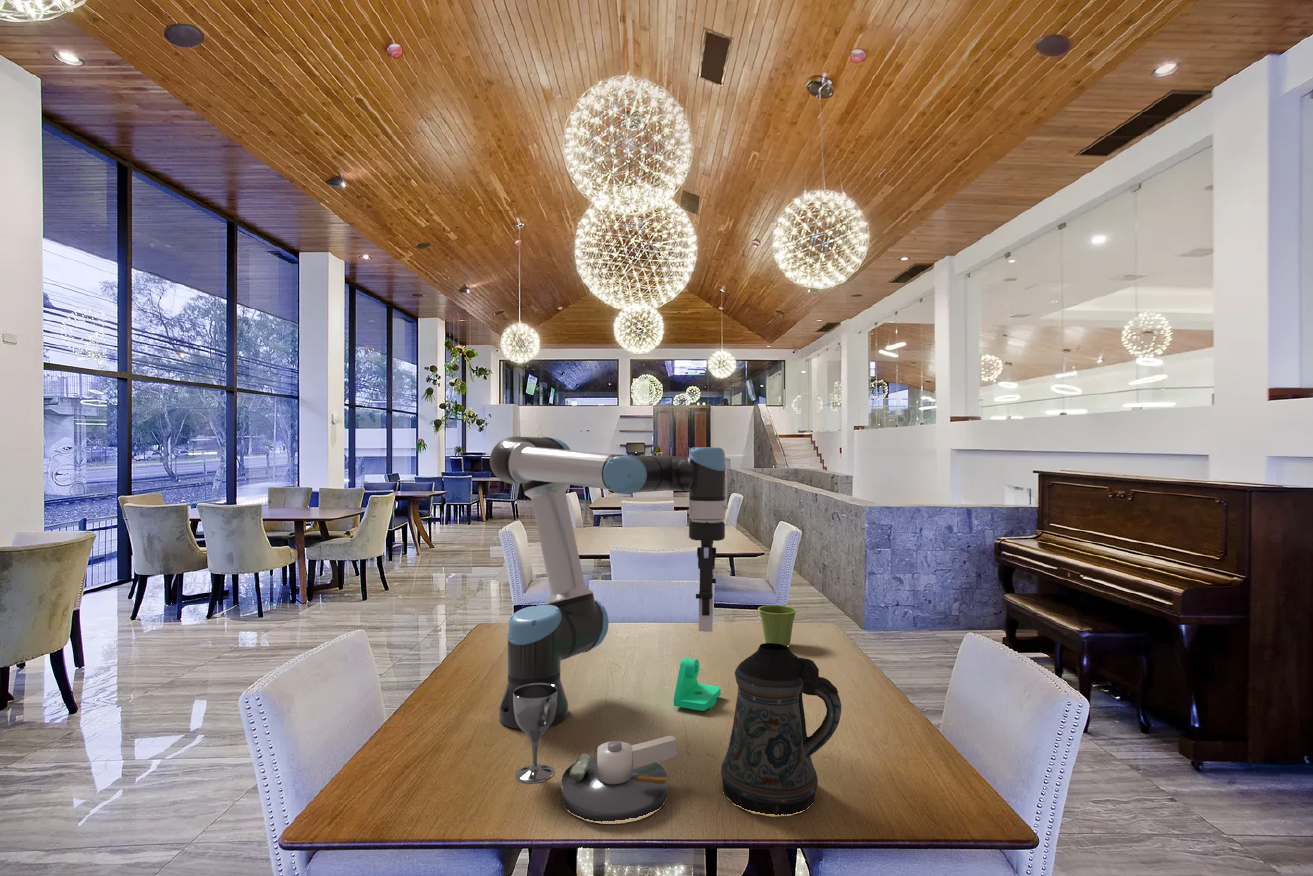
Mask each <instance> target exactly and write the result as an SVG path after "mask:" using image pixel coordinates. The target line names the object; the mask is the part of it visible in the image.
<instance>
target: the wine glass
mask: <svg viewBox="0 0 1313 876" xmlns="http://www.w3.org/2000/svg"><path fill="white" fill-rule="evenodd" d="M513 706H514V714H515V718H516V722H517V724H518V726H519V727H520V728H521V729H520V730H521V731H522V732H523V733H524V734H525V735H526V736H527V737H528V739H529V741H530V744H531V750H532V751H531V752H532V764H533V765H532V764H528V765H524V766H522V767H520V768H519V769H518V770H516V771H515V773H514V778H515V777H516V778H515V779H516V780H517V781H518V782H520V783H524V784H539V783H538V782H540V781H543V780H546V781H548V780H547V778H549V777H550V775H552V774H553V773H554V774H555V769H554V768H553V767H552V766H550V765H548V764H545V765H541V764H542V763H538V752H539V751H538V750H539V743H540V740H541V738H542V736H543V735H544V734H545V733H546V731H547V730H548V729H549V728H550V727H551V726H550V725H551V723H552V722H553V720H554V717H555V712H556V706H557V687H556V686H554V685H552V684H547V683H531V684H525V685H522V686H519V687H517V688H516V689H515V690H514V692H513ZM549 726H550V727H549ZM547 765H548V766H547ZM540 783H541V782H540Z"/></svg>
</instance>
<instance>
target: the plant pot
mask: <svg viewBox="0 0 1313 876" xmlns="http://www.w3.org/2000/svg"><path fill="white" fill-rule="evenodd" d="M757 610H758V611H759V615H760V619H761V623H762V629H763V630H762V631H763V635H764V641H765V642H766V643H775V644H781V645H784V646H788V645H789V644H790V645H791V639H792V633H793V632H792V631H793V625H794V620H795V616H796V613H797V612H798V610H797V608H795V607H792V606H787V605H776V604H775V605H771V604H770V605H762V606H759V607H758V608H757ZM765 642H764V643H765Z"/></svg>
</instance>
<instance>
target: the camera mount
mask: <svg viewBox="0 0 1313 876" xmlns="http://www.w3.org/2000/svg"><path fill="white" fill-rule="evenodd" d="M699 672H700V662H699V660H698V659H697V658H689V657H683V658H682V659H681V661H680V664H679V669H678V675H677V680H676V684H675V688H674V689H675V690H674V695H673V707H678V708H684V709H689V710H695V711H700V712H701V711H702V712H703V711H704V712H705V711H706V710H712V708H713V707H714V706H716V704H717V702H718V698H719V697H720V696H721V690H722V688H721V686H717V685H712V684H711V685H710V684H704V683H700V682H698V679H697V678H698V677H699V674H700V673H699Z"/></svg>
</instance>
